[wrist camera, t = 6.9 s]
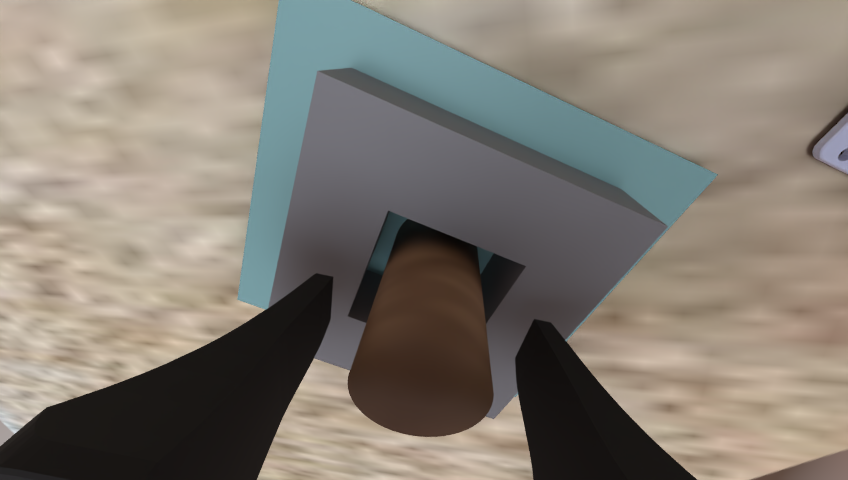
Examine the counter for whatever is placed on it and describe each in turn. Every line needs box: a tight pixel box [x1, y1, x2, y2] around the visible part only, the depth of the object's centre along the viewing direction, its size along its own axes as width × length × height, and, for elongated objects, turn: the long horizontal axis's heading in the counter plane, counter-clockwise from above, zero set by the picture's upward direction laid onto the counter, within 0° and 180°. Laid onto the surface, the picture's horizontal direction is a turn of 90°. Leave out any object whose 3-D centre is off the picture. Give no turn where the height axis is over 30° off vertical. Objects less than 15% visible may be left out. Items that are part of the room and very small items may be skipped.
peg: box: [348, 219, 494, 437], centre depth 12 cm, size 4×4×8 cm
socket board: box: [237, 0, 718, 419], centre depth 15 cm, size 18×16×4 cm
